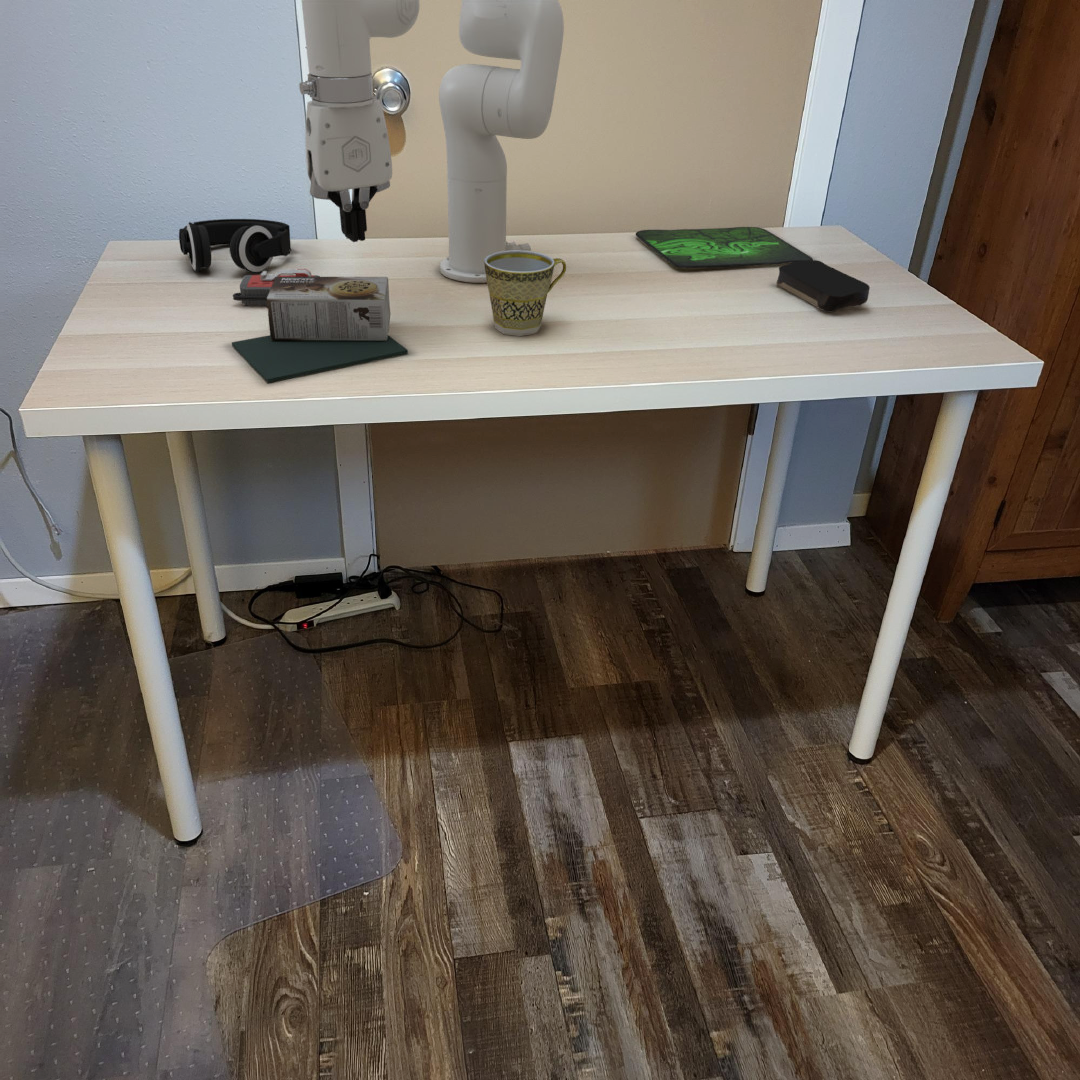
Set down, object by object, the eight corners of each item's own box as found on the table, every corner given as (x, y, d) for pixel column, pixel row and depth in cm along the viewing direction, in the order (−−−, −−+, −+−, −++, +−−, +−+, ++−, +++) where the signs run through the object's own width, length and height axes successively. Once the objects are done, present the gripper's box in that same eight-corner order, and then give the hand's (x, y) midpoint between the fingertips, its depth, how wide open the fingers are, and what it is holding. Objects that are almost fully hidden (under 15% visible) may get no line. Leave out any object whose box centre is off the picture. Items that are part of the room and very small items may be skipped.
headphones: (160, 225, 153) (195, 206, 171) (167, 276, 156) (200, 252, 174) (275, 229, 154) (297, 209, 172) (279, 279, 157) (301, 255, 175)
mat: (365, 321, 144) (365, 317, 144) (408, 353, 135) (407, 349, 134) (232, 346, 135) (231, 342, 135) (267, 383, 125) (267, 379, 125)
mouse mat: (760, 228, 192) (761, 222, 191) (818, 262, 174) (819, 257, 174) (631, 235, 185) (631, 230, 184) (677, 272, 167) (678, 266, 167)
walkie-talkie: (231, 311, 146) (366, 311, 147) (226, 282, 143) (364, 283, 145) (241, 291, 153) (370, 292, 155) (237, 263, 151) (368, 264, 152)
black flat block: (871, 311, 155) (876, 288, 153) (827, 316, 152) (832, 293, 150) (810, 279, 167) (814, 257, 165) (769, 283, 164) (772, 262, 162)
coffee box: (391, 318, 144) (279, 317, 143) (388, 275, 140) (274, 274, 139) (387, 343, 136) (269, 342, 135) (384, 298, 133) (264, 297, 132)
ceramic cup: (506, 345, 138) (507, 276, 133) (472, 322, 145) (471, 255, 140) (581, 329, 144) (585, 262, 139) (545, 308, 151) (547, 243, 146)
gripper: (295, 100, 114) (312, 255, 124) (410, 89, 121) (418, 237, 131) (272, 89, 119) (291, 239, 129) (384, 79, 126) (393, 222, 136)
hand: (354, 238), depth 130 cm, fingers closed
